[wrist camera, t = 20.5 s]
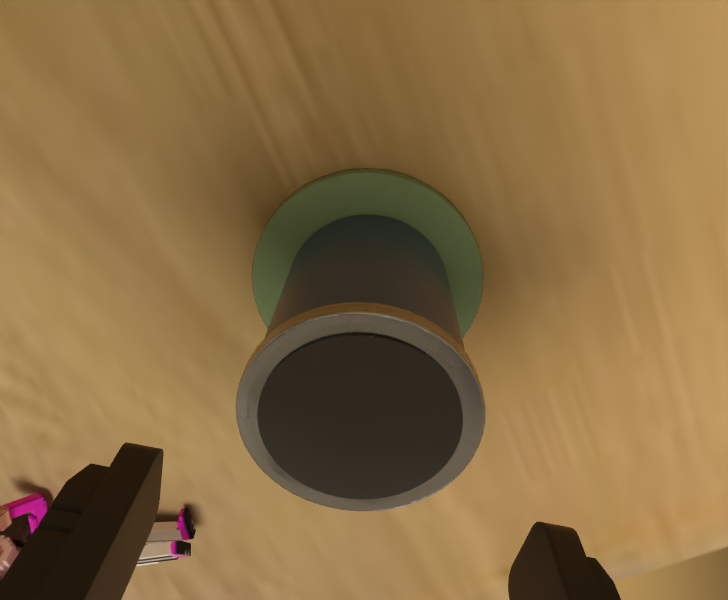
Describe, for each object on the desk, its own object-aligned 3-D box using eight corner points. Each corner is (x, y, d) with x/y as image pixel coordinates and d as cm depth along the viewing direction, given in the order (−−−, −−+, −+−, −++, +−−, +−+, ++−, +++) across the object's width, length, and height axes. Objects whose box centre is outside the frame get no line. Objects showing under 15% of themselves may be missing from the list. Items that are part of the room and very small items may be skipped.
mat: (213, 222, 22) (209, 227, 21) (435, 128, 20) (437, 132, 19) (313, 399, 25) (312, 407, 25) (509, 334, 23) (512, 342, 23)
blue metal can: (443, 534, 17) (523, 347, 14) (220, 489, 16) (253, 286, 13) (425, 375, 24) (475, 231, 21) (271, 341, 23) (300, 189, 20)
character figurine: (205, 506, 31) (-13, 542, 31) (174, 453, 28) (-71, 494, 27) (193, 618, 27) (-60, 661, 26) (155, 571, 23) (-136, 620, 23)
